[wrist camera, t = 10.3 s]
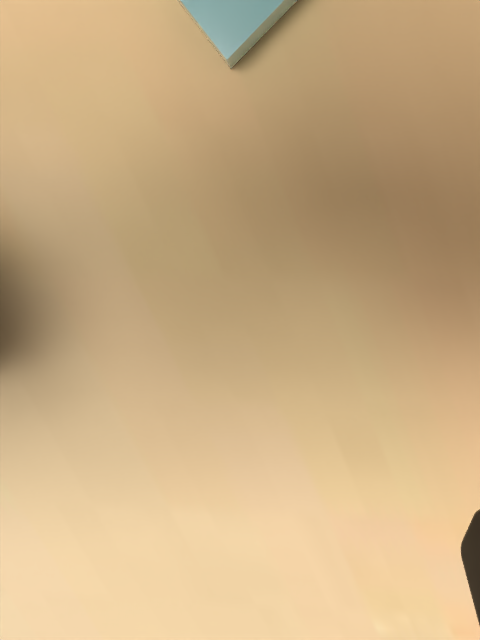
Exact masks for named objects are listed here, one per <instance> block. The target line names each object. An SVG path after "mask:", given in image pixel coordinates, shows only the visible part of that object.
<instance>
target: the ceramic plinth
mask: <svg viewBox="0 0 480 640" xmlns="http://www.w3.org/2000/svg"><path fill="white" fill-rule="evenodd" d="M177 1H178V2H179V3H180V4H181V6H182V7H183V8H184V10H185V11H186V12H187V13H188V15H189V16H190V17H191V19H192V20H193V21H194V22H195V24H196V25H197V26H198V27H199V29H200V30H201V31H202V33H203V34H204V35H205V36H206V38H207V39H208V40H209V42H210V43H211V44H212V45H213V47H214V48H215V49H216V51H217V52H218V53H219V54H220V56H221V57H222V58H223V60H224V61H225V62H226V63H227V65H228V66H229V67H230V69H231V68H232V67H233V66H234V65H235V64H236V63H237V62H238V61H239V60H240V59H241V58H242V57H243V56H244V55H245V54H246V53H247V52H248V51H249V50H250V49H251V48H252V47H253V46H254V45H255V44H256V43H257V42H258V41H259V40H260V39H261V37H262V36H263V35H264V34H265V33H266V32H267V31H268V30H269V29H270V28H271V27H272V26H273V25H274V24H275V23H276V22H277V21H278V20H279V19H280V18H281V17H282V16H283V15H284V14H285V13H286V12H287V11H288V10H289V9H290V8H291V7H292V6H293V4H294V3H295V2H296V1H297V0H177Z"/></svg>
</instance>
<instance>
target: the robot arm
mask: <svg viewBox="0 0 480 640" xmlns="http://www.w3.org/2000/svg"><path fill="white" fill-rule="evenodd" d="M461 556H462V561H463V565H464V568H465V572H466V576H467V580H468V584H469V587H470V591H471V595H472V599H473V602H474V606H475V610H476V614H477V618H478V621H479V625H480V509H479V510H478V511H477V512H476V513H475V514H474V516H473V518H472V521H471V523H470V525H469V527H468V530H467V532H466V534H465V536H464V538H463V541H462V544H461Z"/></svg>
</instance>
